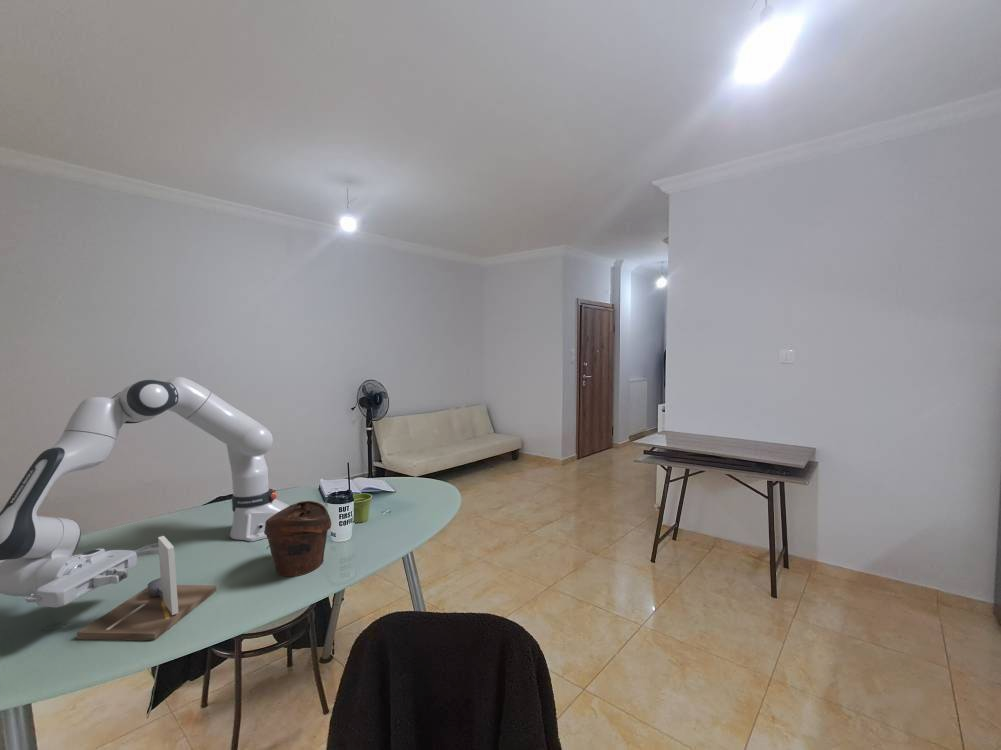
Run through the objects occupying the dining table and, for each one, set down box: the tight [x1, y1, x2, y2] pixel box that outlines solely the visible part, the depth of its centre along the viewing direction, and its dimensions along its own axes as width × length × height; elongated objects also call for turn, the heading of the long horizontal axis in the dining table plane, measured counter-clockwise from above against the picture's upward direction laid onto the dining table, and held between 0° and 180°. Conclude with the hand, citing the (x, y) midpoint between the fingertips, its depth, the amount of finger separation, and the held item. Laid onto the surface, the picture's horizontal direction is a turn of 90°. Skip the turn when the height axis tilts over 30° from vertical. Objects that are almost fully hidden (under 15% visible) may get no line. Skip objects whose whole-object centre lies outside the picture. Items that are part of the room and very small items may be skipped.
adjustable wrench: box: [133, 542, 159, 557], centre depth 138 cm, size 25×6×2 cm, turn 129°
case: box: [264, 500, 332, 577], centre depth 132 cm, size 18×20×18 cm
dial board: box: [76, 584, 217, 641], centre depth 109 cm, size 20×18×2 cm
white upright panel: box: [147, 535, 178, 615], centre depth 111 cm, size 18×5×16 cm, turn 48°
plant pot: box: [352, 492, 373, 524], centre depth 166 cm, size 9×9×9 cm
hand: (122, 576), depth 107 cm, fingers closed
